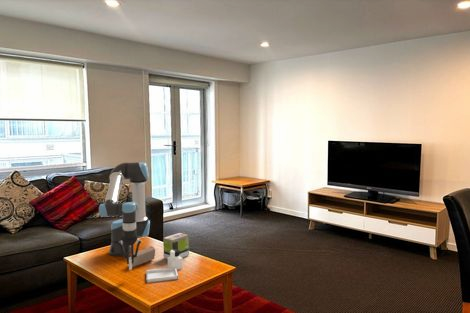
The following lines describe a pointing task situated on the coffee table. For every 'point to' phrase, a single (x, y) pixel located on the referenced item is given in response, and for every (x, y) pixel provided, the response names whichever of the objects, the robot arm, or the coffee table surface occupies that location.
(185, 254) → the tea box
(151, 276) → the tray
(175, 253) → the medicine bottle
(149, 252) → the brick
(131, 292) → the coffee table surface
